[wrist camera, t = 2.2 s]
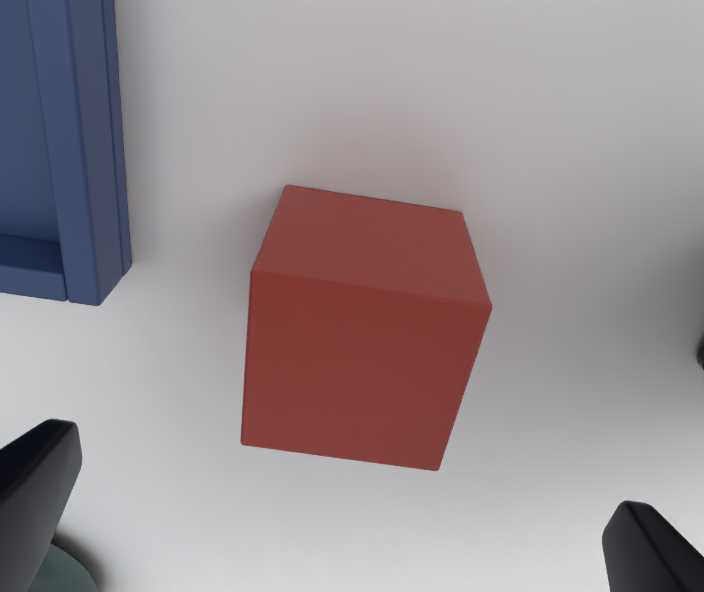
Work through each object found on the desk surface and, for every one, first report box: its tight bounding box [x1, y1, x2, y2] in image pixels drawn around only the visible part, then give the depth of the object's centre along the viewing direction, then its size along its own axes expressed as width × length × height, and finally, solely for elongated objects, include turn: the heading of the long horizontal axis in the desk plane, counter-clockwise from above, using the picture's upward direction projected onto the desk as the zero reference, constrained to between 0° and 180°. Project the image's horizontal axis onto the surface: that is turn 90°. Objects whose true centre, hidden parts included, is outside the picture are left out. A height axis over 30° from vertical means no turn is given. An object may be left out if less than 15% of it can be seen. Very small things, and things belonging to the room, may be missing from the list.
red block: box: [240, 185, 492, 471], centre depth 13 cm, size 4×4×4 cm
